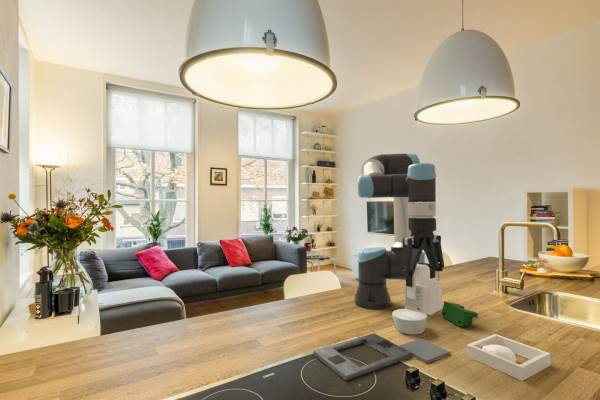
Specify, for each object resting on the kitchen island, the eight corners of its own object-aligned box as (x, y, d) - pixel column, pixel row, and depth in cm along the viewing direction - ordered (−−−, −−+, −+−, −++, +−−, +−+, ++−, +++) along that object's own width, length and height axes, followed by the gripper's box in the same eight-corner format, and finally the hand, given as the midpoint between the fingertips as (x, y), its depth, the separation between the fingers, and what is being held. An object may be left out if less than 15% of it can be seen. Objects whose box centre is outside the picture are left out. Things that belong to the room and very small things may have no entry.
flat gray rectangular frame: (313, 354, 89) (313, 350, 89) (374, 336, 100) (374, 332, 100) (345, 380, 76) (345, 375, 76) (411, 356, 87) (411, 352, 87)
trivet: (398, 348, 92) (397, 345, 92) (421, 340, 97) (421, 338, 97) (426, 363, 84) (426, 360, 84) (450, 354, 89) (450, 351, 89)
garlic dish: (466, 356, 87) (466, 344, 88) (495, 344, 94) (495, 333, 94) (522, 381, 75) (522, 367, 75) (550, 365, 82) (550, 353, 82)
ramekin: (391, 333, 103) (391, 317, 103) (393, 321, 113) (393, 306, 113) (428, 338, 99) (427, 322, 99) (426, 325, 110) (426, 310, 110)
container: (416, 302, 96) (415, 260, 96) (442, 308, 90) (441, 263, 90) (404, 309, 90) (403, 264, 91) (431, 315, 85) (430, 267, 85)
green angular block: (470, 338, 109) (483, 318, 106) (455, 335, 108) (467, 315, 105) (452, 313, 120) (463, 294, 117) (438, 310, 119) (449, 291, 116)
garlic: (483, 363, 84) (483, 349, 84) (479, 352, 90) (479, 339, 90) (518, 369, 81) (518, 355, 81) (512, 357, 87) (512, 344, 87)
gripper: (405, 218, 82) (407, 305, 82) (457, 216, 93) (458, 292, 93) (385, 217, 89) (386, 297, 88) (435, 215, 99) (436, 287, 99)
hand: (423, 295), depth 91 cm, fingers closed on container, 9 cm apart
